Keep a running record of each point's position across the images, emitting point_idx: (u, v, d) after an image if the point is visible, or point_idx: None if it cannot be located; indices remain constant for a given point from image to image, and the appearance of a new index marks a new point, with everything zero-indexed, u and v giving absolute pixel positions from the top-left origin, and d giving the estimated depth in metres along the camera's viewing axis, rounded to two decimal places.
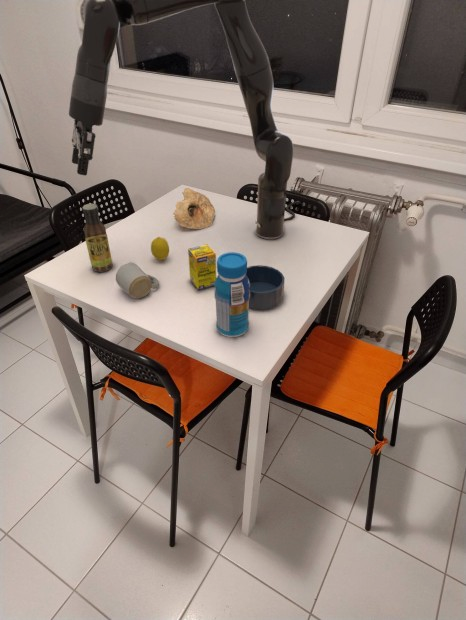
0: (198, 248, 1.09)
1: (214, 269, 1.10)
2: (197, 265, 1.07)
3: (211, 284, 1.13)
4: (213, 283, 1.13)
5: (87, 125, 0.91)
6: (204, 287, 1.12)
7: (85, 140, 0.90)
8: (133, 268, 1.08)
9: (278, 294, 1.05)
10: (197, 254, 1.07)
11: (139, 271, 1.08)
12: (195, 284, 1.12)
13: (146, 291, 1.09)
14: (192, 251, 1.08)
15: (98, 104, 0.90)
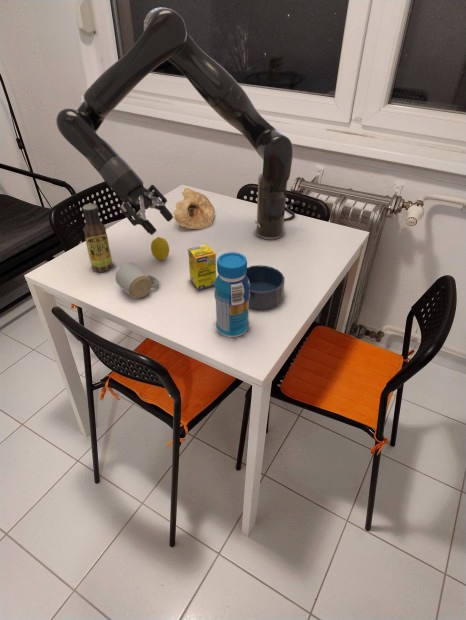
0: (198, 248, 1.09)
1: (214, 269, 1.10)
2: (197, 265, 1.07)
3: (211, 284, 1.13)
4: (213, 283, 1.13)
5: (125, 198, 1.03)
6: (204, 287, 1.12)
7: (124, 212, 1.02)
8: (133, 268, 1.08)
9: (278, 294, 1.05)
10: (197, 254, 1.07)
11: (139, 271, 1.08)
12: (195, 284, 1.12)
13: (146, 291, 1.09)
14: (192, 251, 1.08)
15: (115, 178, 1.01)
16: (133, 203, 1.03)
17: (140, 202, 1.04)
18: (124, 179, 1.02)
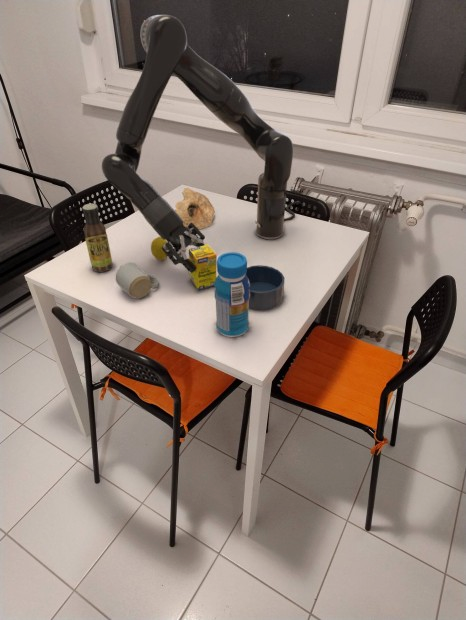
0: (199, 248, 1.09)
1: (214, 270, 1.10)
2: (198, 266, 1.07)
3: (211, 284, 1.13)
4: (213, 283, 1.13)
5: (167, 238, 1.06)
6: (204, 287, 1.12)
7: (166, 252, 1.05)
8: (133, 268, 1.08)
9: (278, 294, 1.05)
10: (198, 255, 1.07)
11: (139, 271, 1.08)
12: (195, 284, 1.12)
13: (146, 291, 1.09)
14: (192, 251, 1.08)
15: (158, 219, 1.04)
16: (174, 243, 1.06)
17: (181, 241, 1.06)
18: (166, 220, 1.04)
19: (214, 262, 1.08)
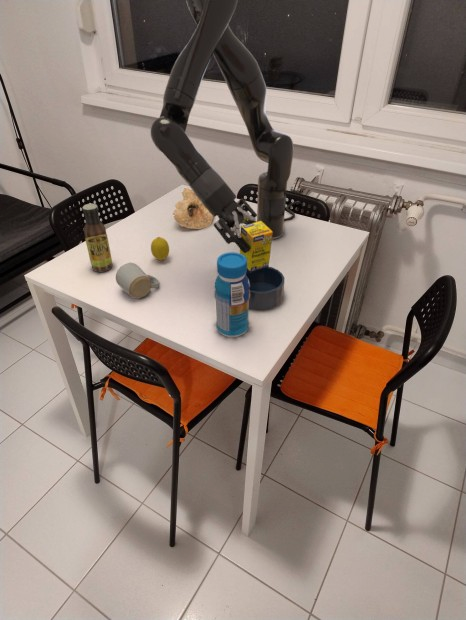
0: (252, 225, 0.98)
1: (269, 249, 1.00)
2: (252, 245, 0.96)
3: (263, 265, 1.03)
4: (266, 264, 1.03)
5: (219, 214, 0.96)
6: (256, 268, 1.02)
7: (218, 230, 0.94)
8: (133, 268, 1.08)
9: (278, 294, 1.05)
10: (252, 232, 0.96)
11: (139, 271, 1.08)
12: None
13: (146, 291, 1.09)
14: (246, 228, 0.97)
15: (210, 193, 0.93)
16: (227, 219, 0.95)
17: (234, 218, 0.96)
18: (219, 193, 0.94)
19: (269, 240, 0.98)
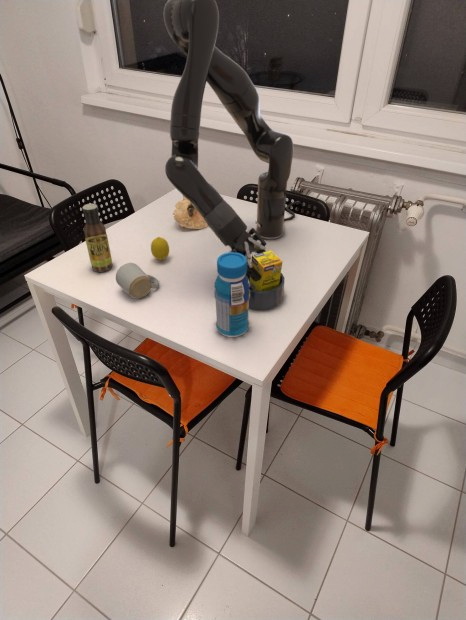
0: (262, 255, 1.02)
1: (278, 277, 1.04)
2: (263, 274, 1.00)
3: None
4: None
5: (231, 245, 0.99)
6: None
7: None
8: (133, 268, 1.08)
9: (278, 294, 1.05)
10: (263, 262, 1.00)
11: (139, 271, 1.08)
12: None
13: (146, 291, 1.09)
14: (257, 258, 1.01)
15: (223, 225, 0.97)
16: (239, 250, 0.99)
17: (246, 248, 1.00)
18: (232, 225, 0.98)
19: (279, 269, 1.02)
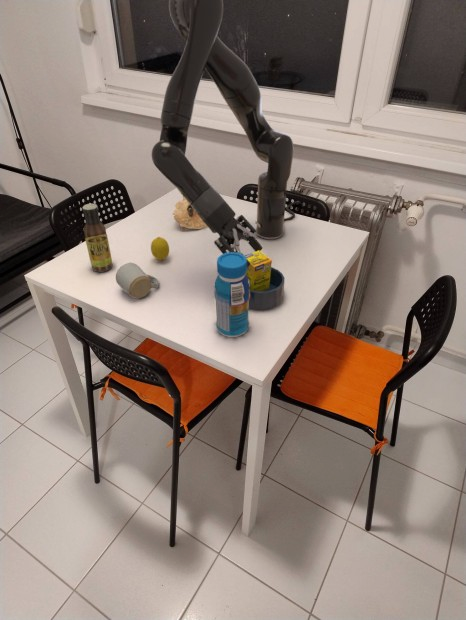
0: (252, 255, 1.04)
1: (268, 276, 1.06)
2: (254, 274, 1.02)
3: None
4: (266, 290, 1.09)
5: (219, 232, 0.99)
6: None
7: (219, 247, 0.98)
8: (133, 268, 1.08)
9: (278, 294, 1.05)
10: (253, 262, 1.02)
11: (139, 271, 1.08)
12: None
13: (146, 291, 1.09)
14: (246, 258, 1.03)
15: (210, 212, 0.97)
16: (227, 237, 0.99)
17: (234, 235, 0.99)
18: (219, 212, 0.97)
19: (269, 268, 1.04)
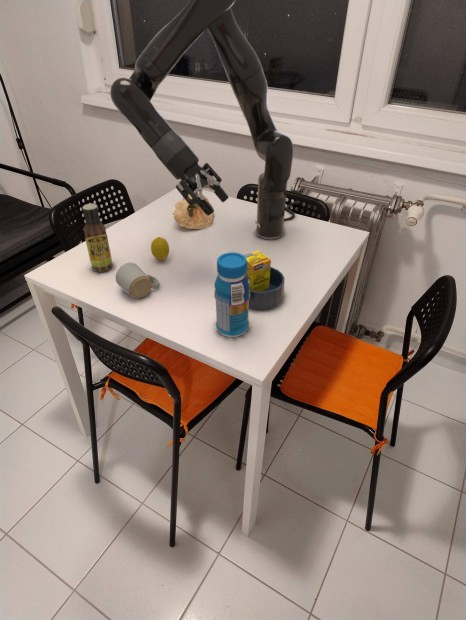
0: (251, 255, 1.05)
1: (268, 275, 1.06)
2: (253, 273, 1.02)
3: None
4: (266, 289, 1.09)
5: (181, 177, 0.96)
6: None
7: (180, 191, 0.95)
8: (133, 268, 1.08)
9: (278, 294, 1.05)
10: (252, 261, 1.02)
11: (139, 271, 1.08)
12: None
13: (146, 291, 1.09)
14: None
15: (172, 155, 0.94)
16: (190, 181, 0.96)
17: (197, 180, 0.97)
18: (181, 155, 0.94)
19: (268, 268, 1.05)
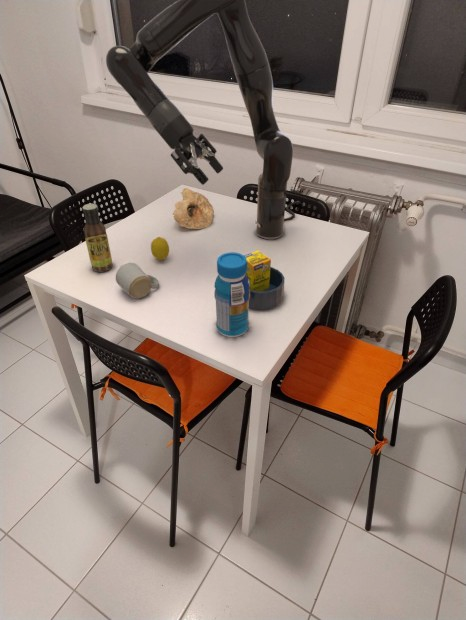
0: (251, 255, 1.05)
1: (268, 275, 1.06)
2: (253, 273, 1.02)
3: None
4: (266, 289, 1.09)
5: (176, 145, 0.98)
6: None
7: (175, 159, 0.96)
8: (133, 268, 1.08)
9: (278, 294, 1.05)
10: (252, 261, 1.02)
11: (139, 271, 1.08)
12: None
13: (146, 291, 1.09)
14: None
15: (166, 123, 0.96)
16: (184, 150, 0.97)
17: (191, 149, 0.98)
18: (175, 124, 0.96)
19: (268, 268, 1.05)
